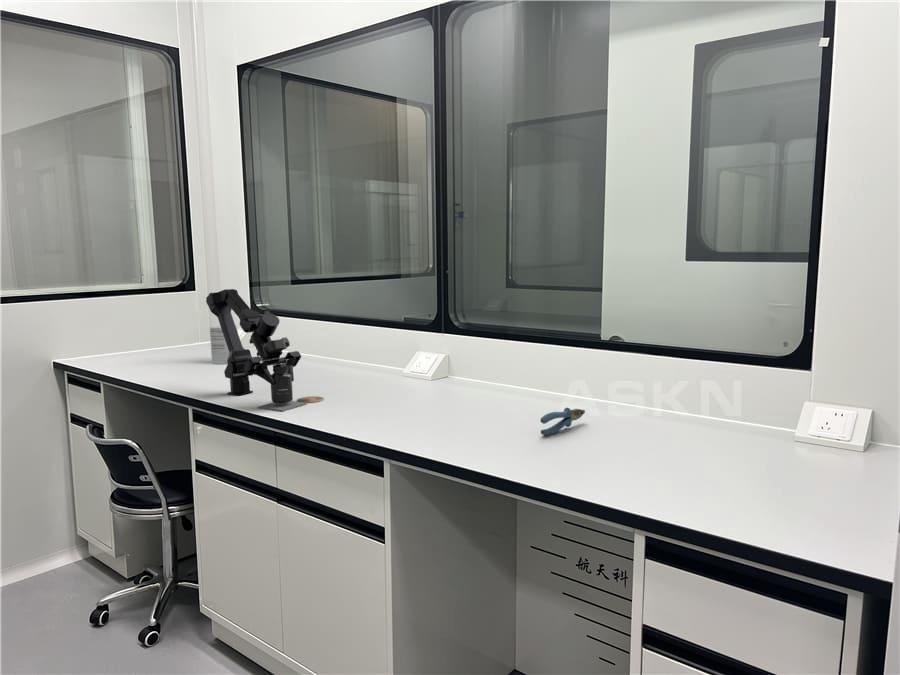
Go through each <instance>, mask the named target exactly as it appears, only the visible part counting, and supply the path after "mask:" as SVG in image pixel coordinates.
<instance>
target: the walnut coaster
mask: <svg viewBox="0 0 900 675" xmlns="http://www.w3.org/2000/svg"><path fill="white" fill-rule="evenodd" d="M324 399H325V398H324V397H322V396H316V395H315V396H304V397H303V396H302V397H299V398H298V399H296V402H303V403H307V404H315V403H320V402H322V401H324Z"/></svg>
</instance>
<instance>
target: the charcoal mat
mask: <svg viewBox="0 0 900 675" xmlns="http://www.w3.org/2000/svg"><path fill="white" fill-rule="evenodd" d="M307 404H308V403H303V402H297V400H296V401H295V400H292V401H290V402H287V403H274V402H272V401H271V402H268V403H265V404H262V405H258V406H257V408H258V409H261V410H263V409H264V410H269V411H274V412H275V411H276V412H281V413H282V412H286V411H290V410H294V409H297V408H299V407H302V406H306V405H307Z"/></svg>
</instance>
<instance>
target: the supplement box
mask: <svg viewBox="0 0 900 675" xmlns="http://www.w3.org/2000/svg"><path fill="white" fill-rule="evenodd" d="M235 326H236V329H237V332H238V333H239V329H238V328H239V327H238V325H237V324H235ZM209 336H210V337H209V339H210V340H209V341H210V351H211V352H210V353H211V354H210V355H211V363H213V364H212V365H228V362H227V359H228V356H229V350H228V347H227V344H226V341H225V338H224V335H223V332H222V329H221V326H220V324H218V325H214V326H210V327H209ZM214 363H215V364H214Z"/></svg>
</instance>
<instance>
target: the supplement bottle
mask: <svg viewBox="0 0 900 675" xmlns="http://www.w3.org/2000/svg"><path fill="white" fill-rule="evenodd" d="M272 372H273V373H272V374H271V376H272V378H273V380H274V383H275V384H274V385H272V384H270V396H271V397H270V398H271V403H272V402H274V403H287V402H290V401H294V400H293V398H294V397H293V395H294V394H293V382H292V375H291V374H290V373H289V372H288V365H287V364H277V365H272Z"/></svg>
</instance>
